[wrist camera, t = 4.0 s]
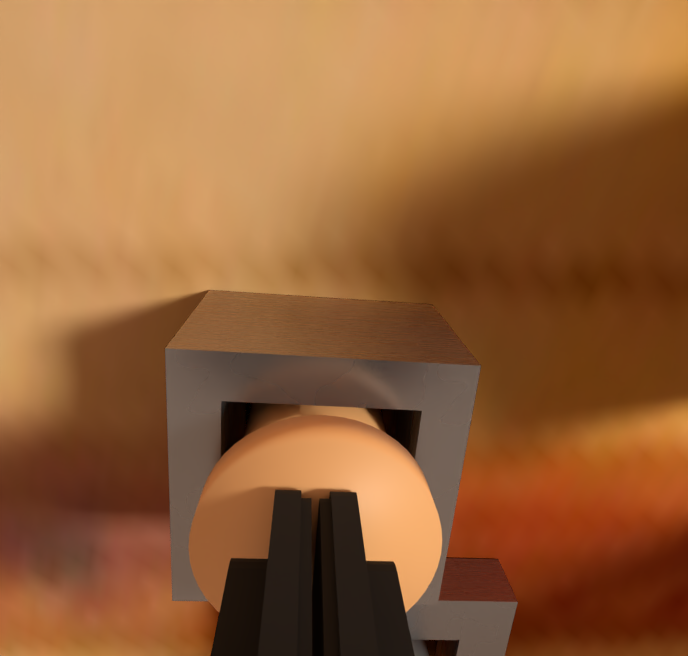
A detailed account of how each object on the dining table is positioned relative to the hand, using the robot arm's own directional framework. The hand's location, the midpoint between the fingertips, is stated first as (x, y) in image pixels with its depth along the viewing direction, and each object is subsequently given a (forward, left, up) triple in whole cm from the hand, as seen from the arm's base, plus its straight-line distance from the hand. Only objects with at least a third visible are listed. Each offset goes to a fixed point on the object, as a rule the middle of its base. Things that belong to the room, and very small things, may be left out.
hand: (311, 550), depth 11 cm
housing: (0, 0, -7) cm, 7 cm away
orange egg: (0, 0, -6) cm, 6 cm away
